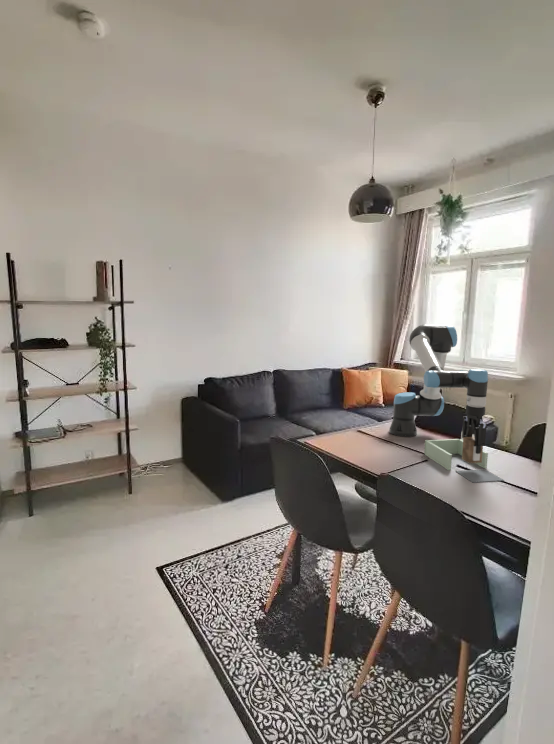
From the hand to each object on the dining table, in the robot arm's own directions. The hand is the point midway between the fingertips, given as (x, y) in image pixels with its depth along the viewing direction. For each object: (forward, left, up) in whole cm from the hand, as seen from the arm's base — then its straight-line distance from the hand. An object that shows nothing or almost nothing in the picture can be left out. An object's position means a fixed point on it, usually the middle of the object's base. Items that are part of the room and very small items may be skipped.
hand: (471, 457), depth 176 cm
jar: (-26, +17, -6) cm, 32 cm away
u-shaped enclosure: (-13, 0, -6) cm, 14 cm away
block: (0, 0, -1) cm, 1 cm away
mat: (+6, 0, -6) cm, 8 cm away
